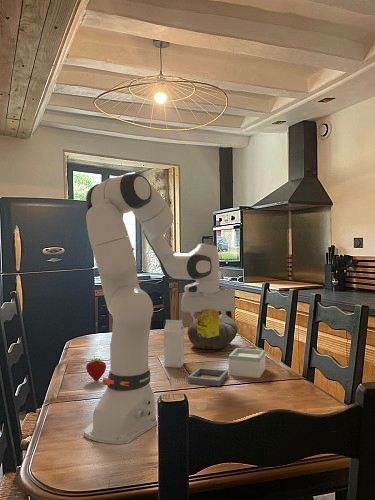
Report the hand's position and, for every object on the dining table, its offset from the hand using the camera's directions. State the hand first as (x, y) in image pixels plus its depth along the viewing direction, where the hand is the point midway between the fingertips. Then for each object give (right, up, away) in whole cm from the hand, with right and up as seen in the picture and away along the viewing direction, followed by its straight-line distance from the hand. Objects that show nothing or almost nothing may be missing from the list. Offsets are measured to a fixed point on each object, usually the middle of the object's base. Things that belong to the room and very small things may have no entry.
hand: (208, 323), depth 151 cm
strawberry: (-42, -22, -1) cm, 47 cm away
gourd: (+5, -21, +48) cm, 52 cm away
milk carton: (-13, -21, +18) cm, 31 cm away
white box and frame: (+8, -21, +4) cm, 23 cm away
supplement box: (0, -6, 0) cm, 6 cm away
